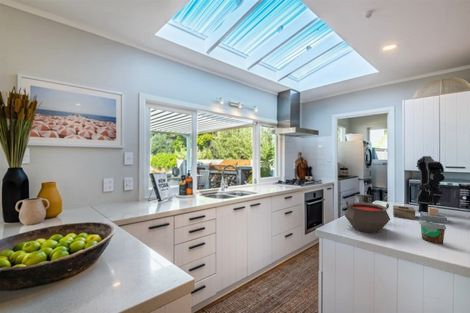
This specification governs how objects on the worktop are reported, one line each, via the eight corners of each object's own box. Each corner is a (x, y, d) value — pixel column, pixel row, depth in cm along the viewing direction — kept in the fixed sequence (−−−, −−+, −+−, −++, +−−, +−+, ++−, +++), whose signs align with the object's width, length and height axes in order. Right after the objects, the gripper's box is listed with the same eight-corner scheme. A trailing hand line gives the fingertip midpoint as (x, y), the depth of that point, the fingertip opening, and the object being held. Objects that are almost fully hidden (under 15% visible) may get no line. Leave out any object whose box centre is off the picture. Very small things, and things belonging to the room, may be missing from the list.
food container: (412, 236, 123) (412, 218, 123) (423, 236, 123) (423, 217, 123) (434, 245, 111) (434, 225, 110) (445, 245, 111) (446, 225, 111)
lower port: (420, 216, 162) (420, 211, 162) (442, 219, 155) (442, 214, 155) (422, 220, 152) (423, 215, 151) (447, 223, 145) (447, 218, 145)
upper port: (393, 213, 170) (393, 205, 170) (413, 215, 164) (413, 207, 164) (393, 216, 160) (393, 208, 160) (415, 219, 154) (415, 210, 154)
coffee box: (367, 216, 160) (368, 194, 160) (372, 219, 154) (372, 195, 153) (354, 216, 161) (354, 193, 161) (358, 219, 155) (358, 195, 154)
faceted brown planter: (345, 232, 128) (346, 204, 128) (342, 220, 150) (343, 196, 150) (396, 238, 119) (396, 208, 119) (385, 225, 141) (385, 199, 141)
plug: (428, 217, 156) (428, 207, 156) (436, 218, 154) (436, 207, 154) (429, 218, 153) (429, 208, 153) (437, 219, 150) (438, 209, 150)
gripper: (416, 178, 165) (416, 199, 165) (420, 180, 149) (420, 204, 150) (436, 179, 159) (436, 201, 159) (443, 182, 143) (442, 206, 143)
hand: (433, 203), depth 153 cm, fingers open, 9 cm apart
